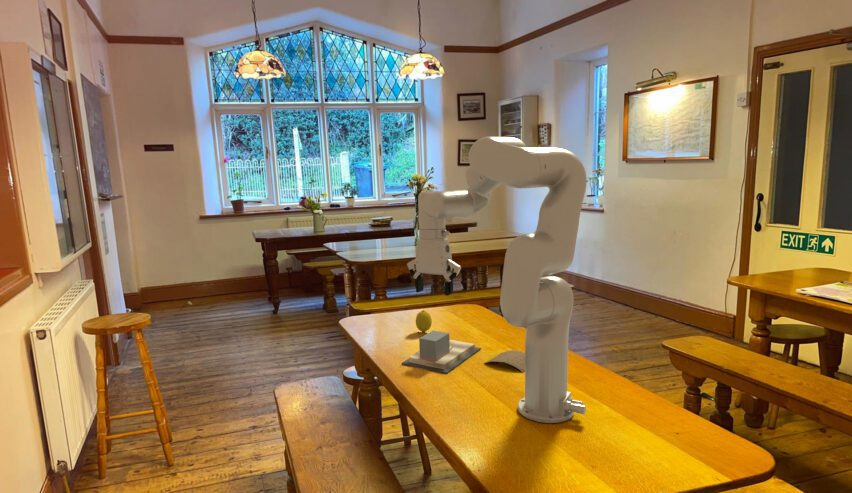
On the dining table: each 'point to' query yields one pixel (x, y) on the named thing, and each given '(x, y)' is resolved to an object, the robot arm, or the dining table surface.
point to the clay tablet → (511, 359)
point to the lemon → (423, 321)
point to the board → (445, 358)
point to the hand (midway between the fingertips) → (434, 292)
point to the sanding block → (434, 345)
